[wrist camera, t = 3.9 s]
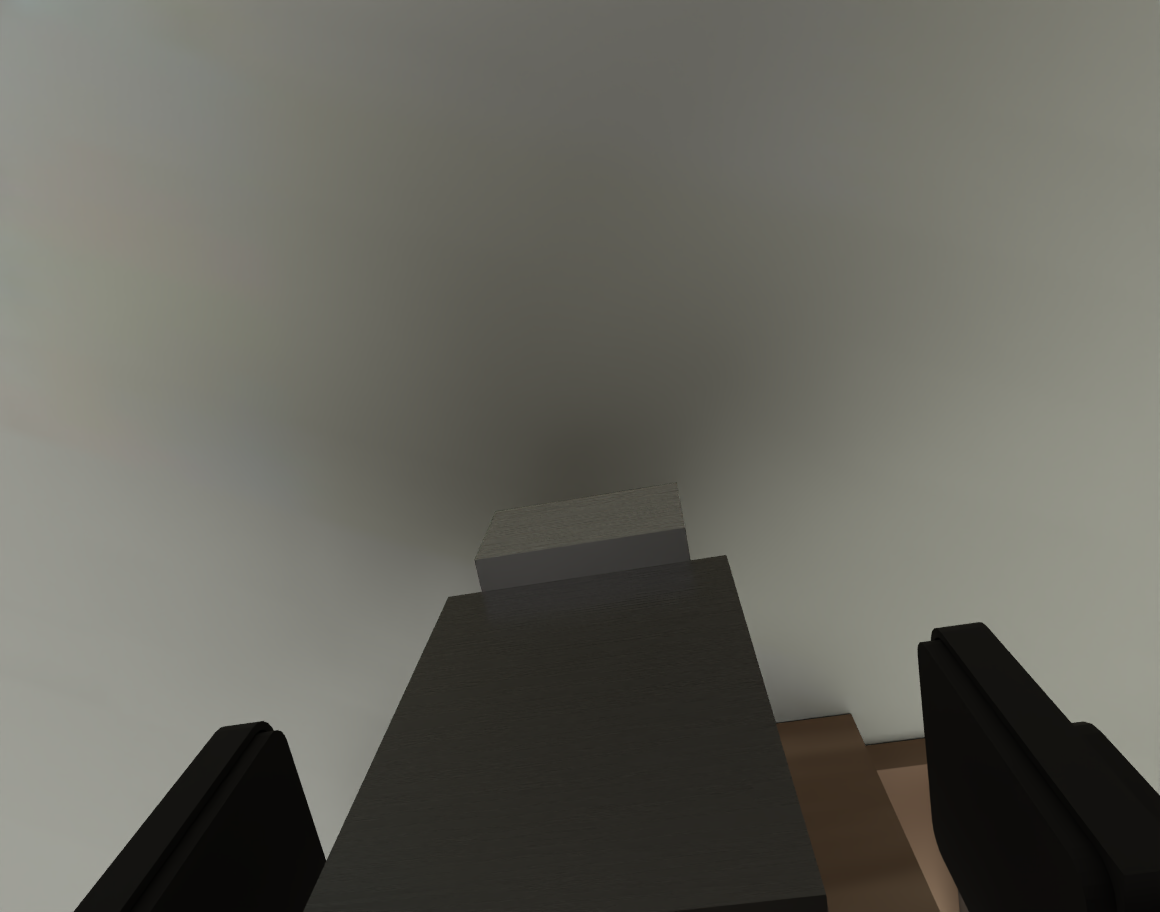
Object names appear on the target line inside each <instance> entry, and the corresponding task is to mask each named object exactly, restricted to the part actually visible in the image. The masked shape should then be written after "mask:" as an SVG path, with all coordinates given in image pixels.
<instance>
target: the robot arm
mask: <svg viewBox="0 0 1160 912" xmlns="http://www.w3.org/2000/svg"><path fill="white" fill-rule="evenodd" d="M918 664H919V676H920V687H921V699H922V711H923V722H924V734H925V745H926V757H927V769H928V780H929V792H930V803H931V815H932V824H933V830H934V835H935V839H936V842H937V845H938V848H939V851H940V854H941V856H942V858H943V860H944V862H945V864H946V866H947V868H948V870H949V872H950V874H951V876H952V878H953V880H954V883H955V885H956V887H957V889H958V891H959V893H960V895H961V897H962V899H963V901H964V903H965V905H966V907H967V909H968V911H969V912H1160V795H1159V794H1158V793H1157V792H1156V791H1155V790H1154V789H1153V788H1152V787H1151V785H1150V784H1149V783H1148V782H1147V781H1146V780H1145V779H1144V778H1143V777H1142V776H1141V775H1140V774H1139V772H1138V771H1137V770H1136V769H1135V768H1134V767H1133V766H1132V765H1131V764H1130V763H1129V762H1128V760H1127V759H1126V758H1125V757H1124V756H1123V755H1122V754H1121V753H1120V752H1119V751H1118V750H1117V748H1116V747H1115V746H1114V745H1113V744H1112V743H1111V742H1110V741H1109V740H1108V739H1107V738H1106V736H1105V735H1104V734H1103V733H1102V732H1101V731H1100V730H1098V729H1097V728H1096V727H1095V726H1094V725H1093V724H1090V723H1087V722H1076V723H1071V722H1070V721H1069V720H1068V719H1067V717H1066V716H1065V715H1064V714H1063V713H1062V712H1061V711H1060V709H1059V708H1058V707H1057V706H1056V705H1055V704H1054V703H1053V701H1052V700H1051V699H1050V698H1049V697H1048V696H1047V695H1046V693H1045V692H1044V691H1043V690H1042V689H1041V688H1040V687H1039V685H1038V684H1037V683H1036V682H1035V681H1034V680H1033V679H1032V677H1031V676H1030V675H1029V674H1028V673H1027V672H1026V671H1025V669H1024V668H1023V667H1022V666H1021V665H1020V664H1019V663H1018V661H1017V660H1016V659H1015V658H1014V657H1013V656H1012V655H1011V653H1010V652H1009V651H1008V650H1007V649H1006V648H1005V647H1004V645H1003V644H1002V643H1001V642H1000V641H999V640H998V639H997V637H996V636H995V635H994V634H993V633H992V632H991V631H990V629H989V628H988V627H987V626H986V625H985V624H983V623H982V622H977V623H970V624H963V625H956V626H948V627H941V628H934V630H933V631H932V635H931V641H927V642H920V643H919V644H918ZM325 863H326V859H325V856H324V853H323V850H322V847H321V843H320V840H319V837H318V834H317V831H316V828H315V825H314V822H313V819H312V816H311V813H310V810H309V807H308V804H307V800H306V797H305V794H304V791H303V788H302V785H301V782H300V779H299V776H298V773H297V770H296V767H295V764H294V761H293V757H292V754H291V751H290V748H289V745H288V742H287V739H286V737H285V735H284V734H283V733H282V732H281V731H278V730H276V731H274V730H273V728H272V727H271V726H270V725H269V724H268V723H267V722H264V721H261V722H254V723H246V724H239V725H232V726H225V727H221V728H220V729H219V730H217V731H216V732H215V734H214V735H213V736H212V737H211V739H210V740H209V741H208V742H207V744H206V745H205V746H204V747H203V749H202V750H201V751H200V752H199V754H198V755H197V756H196V758H195V759H194V760H193V761H192V763H191V764H190V765H189V766H188V768H187V769H186V770H185V771H184V773H183V774H182V775H181V777H180V778H179V779H178V780H177V782H176V783H175V784H174V785H173V787H172V788H171V789H170V790H169V792H168V793H167V794H166V795H165V797H164V798H163V799H162V801H161V802H160V803H159V804H158V806H157V807H156V808H155V809H154V811H153V812H152V813H151V814H150V816H149V817H148V818H147V820H146V821H145V822H144V823H143V825H142V826H141V827H140V828H139V830H138V831H137V832H136V833H135V835H134V836H133V837H132V838H131V840H130V841H129V842H128V844H127V845H126V846H125V847H124V849H123V850H122V851H121V852H120V854H119V855H118V856H117V857H116V859H115V860H114V861H113V863H112V864H111V865H110V866H109V868H108V869H107V870H106V871H105V873H104V874H103V875H102V876H101V878H100V879H99V880H98V881H97V883H96V884H95V885H94V887H93V888H92V889H91V890H90V892H89V893H88V894H87V895H86V897H85V898H84V899H83V900H82V902H81V903H80V904H79V906H78V907H77V908H76V909H75V911H74V912H303V911H304V909H305V906H306V904H307V902H308V900H309V898H310V896H311V893H312V891H313V889H314V887H315V885H316V883H317V880H318V878H319V876H320V874H321V872H322V870H323V867H324V865H325Z"/></svg>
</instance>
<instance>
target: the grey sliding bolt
mask: <svg viewBox="0 0 1160 912" xmlns="http://www.w3.org/2000/svg"><path fill="white" fill-rule="evenodd" d="M475 564H476V568H477V572H478V577H479V581H480V585H481V589H482V592H478V593H472V594H465V595H458V596H452V597H448V599H447V601H446V603H445V606H444V608H443V610H442V612H441V614H440V616H439V619H438V621H437V623H436V625H435V627H434V629H433V631H432V634H431V636H430V638H429V640H428V642H427V644H426V647H425V649H424V651H423V653H422V655H421V657H420V660H419V662H418V664H417V666H416V668H415V670H414V673H413V675H412V677H411V679H410V681H409V683H408V686H407V688H406V690H405V692H404V694H403V696H402V699H401V701H400V703H399V705H398V707H397V709H396V712H395V714H394V716H393V718H392V720H391V722H390V725H389V727H388V729H387V731H386V733H385V735H384V738H383V740H382V742H381V744H380V746H379V748H378V751H377V753H376V755H375V757H374V759H373V761H372V764H371V766H370V768H369V770H368V772H367V774H366V777H365V779H364V781H363V783H362V785H361V787H360V789H359V792H358V794H357V796H356V798H355V800H354V802H353V805H352V807H351V809H350V811H349V813H348V815H347V818H346V820H345V822H344V824H343V826H342V828H341V831H340V833H339V835H338V837H337V839H336V841H335V844H334V846H333V848H332V850H331V852H330V854H329V857H328V859H327V861H326V863H325V865H324V867H323V870H322V872H321V874H320V876H319V878H318V880H317V883H316V885H315V887H314V889H313V891H312V893H311V896H310V898H309V900H308V902H307V904H306V906H305V909H304V911H303V912H828V904H827V897H826V892H825V889H824V885H823V882H822V879H821V875H820V872H819V868H818V865H817V862H816V858H815V855H814V851H813V848H812V845H811V841H810V838H809V834H808V831H807V828H806V824H805V821H804V817H803V814H802V811H801V807H800V804H799V800H798V797H797V794H796V790H795V787H794V784H793V780H792V777H791V773H790V770H789V767H788V763H787V760H786V756H785V753H784V750H783V746H782V743H781V739H780V736H779V733H778V729H777V726H776V722H775V719H774V716H773V712H772V709H771V705H770V702H769V699H768V695H767V692H766V688H765V685H764V682H763V678H762V675H761V671H760V668H759V665H758V661H757V658H756V655H755V651H754V648H753V644H752V641H751V638H750V634H749V631H748V627H747V624H746V621H745V617H744V614H743V610H742V607H741V604H740V600H739V597H738V593H737V590H736V587H735V583H734V580H733V576H732V573H731V570H730V566H729V563H728V559H727V556H726V555H724V556H717V557H711V558H704V559H697V560H691V561H690V555H689V549H688V543H687V536H686V530H685V525H684V519H683V514H682V509H681V503H680V498H679V493H678V488H677V482H676V483H670V484H664V485H658V486H651V487H645V488H639V489H633V490H627V491H620V492H614V493H608V494H602V495H595V496H589V497H583V498H577V499H570V500H564V501H558V502H552V503H545V504H539V505H533V506H527V507H521V508H514V509H508V510H502V511H496V512H495V514H494V517H493V519H492V521H491V523H490V526H489V528H488V530H487V533H486V535H485V537H484V539H483V542H482V544H481V546H480V549H479V551H478V553H477V556H476V558H475Z"/></svg>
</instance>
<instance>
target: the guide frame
mask: <svg viewBox="0 0 1160 912" xmlns="http://www.w3.org/2000/svg"><path fill="white" fill-rule="evenodd" d="M776 726H777V729H778V733H779V736H780V739H781V743H782V746H783V750H784V753H785V756H786V760H787V763H788V767H789V770H790V773H791V777H792V780H793V784H794V787H795V790H796V794H797V797H798V800H799V804H800V807H801V811H802V814H803V817H804V821H805V824H806V828H807V831H808V834H809V838H810V841H811V845H812V848H813V851H814V855H815V858H816V862H817V865H818V868H819V872H820V875H821V879H822V882H823V885H824V889H825V892H826V897H827V904H828V912H969V911H968V909H967V907H966V905H965V903H964V901H963V899H962V897H961V895H960V893H959V891H958V889H957V887H956V885H955V883H954V880H953V878H952V876H951V874H950V872H949V870H948V868H947V866H946V864H945V862H944V860H943V858H942V856H941V854H940V851H939V848H938V845H937V842H936V839H935V835H934V830H933V824H932V815H931V803H930V792H929V780H928V769H927V757H926V745H925V738H923V739H915V740H907V741H899V742H891V743H883V744H875V745H867V746H865V744H864V741H863V739H862V737H861V735H860V733H859V730H858V728H857V726H856V724H855V722H854V719H853V717H852V715H851V714H846V715H839V716H831V717H823V718H815V719H808V720H800V721H792V722H784V723H777V724H776Z"/></svg>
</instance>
